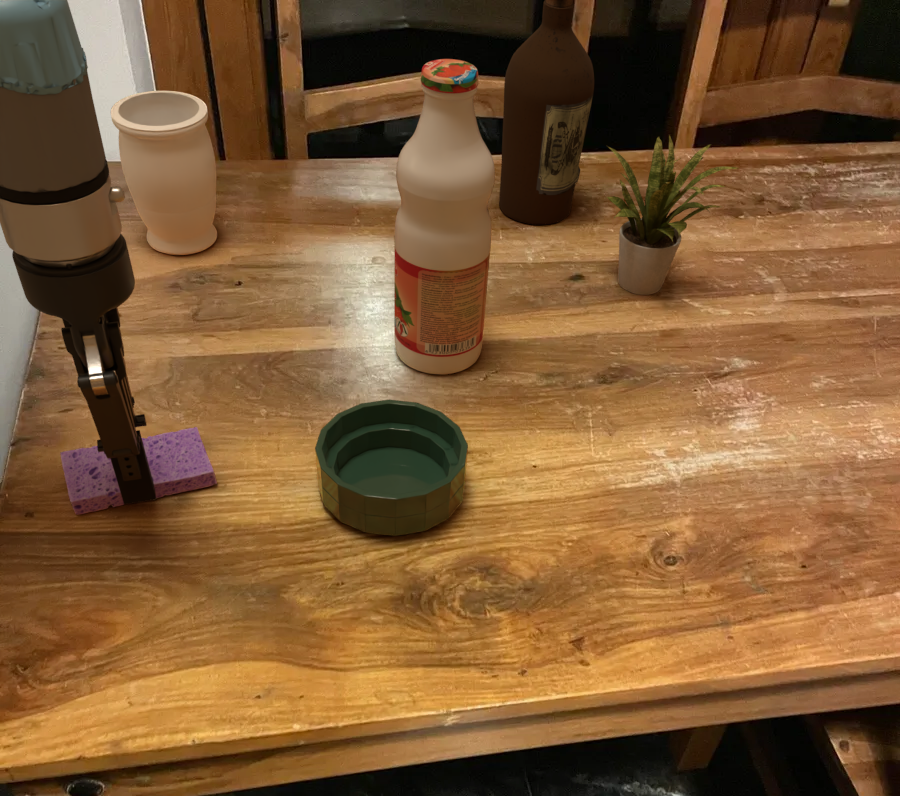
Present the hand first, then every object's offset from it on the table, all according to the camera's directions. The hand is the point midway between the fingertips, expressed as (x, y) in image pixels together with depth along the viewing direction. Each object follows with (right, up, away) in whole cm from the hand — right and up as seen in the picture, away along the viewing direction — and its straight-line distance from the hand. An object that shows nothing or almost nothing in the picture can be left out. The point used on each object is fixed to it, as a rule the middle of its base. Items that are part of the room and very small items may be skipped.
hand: (139, 496), depth 81 cm
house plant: (+51, +28, +29) cm, 65 cm away
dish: (+22, +1, +4) cm, 22 cm away
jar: (-5, +35, +32) cm, 47 cm away
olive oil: (+38, +42, +41) cm, 70 cm away
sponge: (-1, +2, +4) cm, 5 cm away
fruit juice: (+26, +18, +19) cm, 37 cm away
